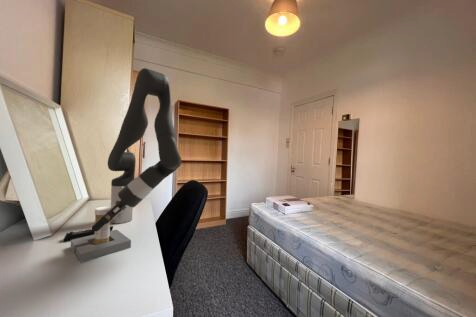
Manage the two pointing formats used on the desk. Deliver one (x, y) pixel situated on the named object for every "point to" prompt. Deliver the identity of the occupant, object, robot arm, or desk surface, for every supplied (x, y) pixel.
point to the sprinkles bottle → (103, 232)
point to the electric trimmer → (80, 234)
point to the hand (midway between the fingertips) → (98, 225)
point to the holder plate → (99, 246)
